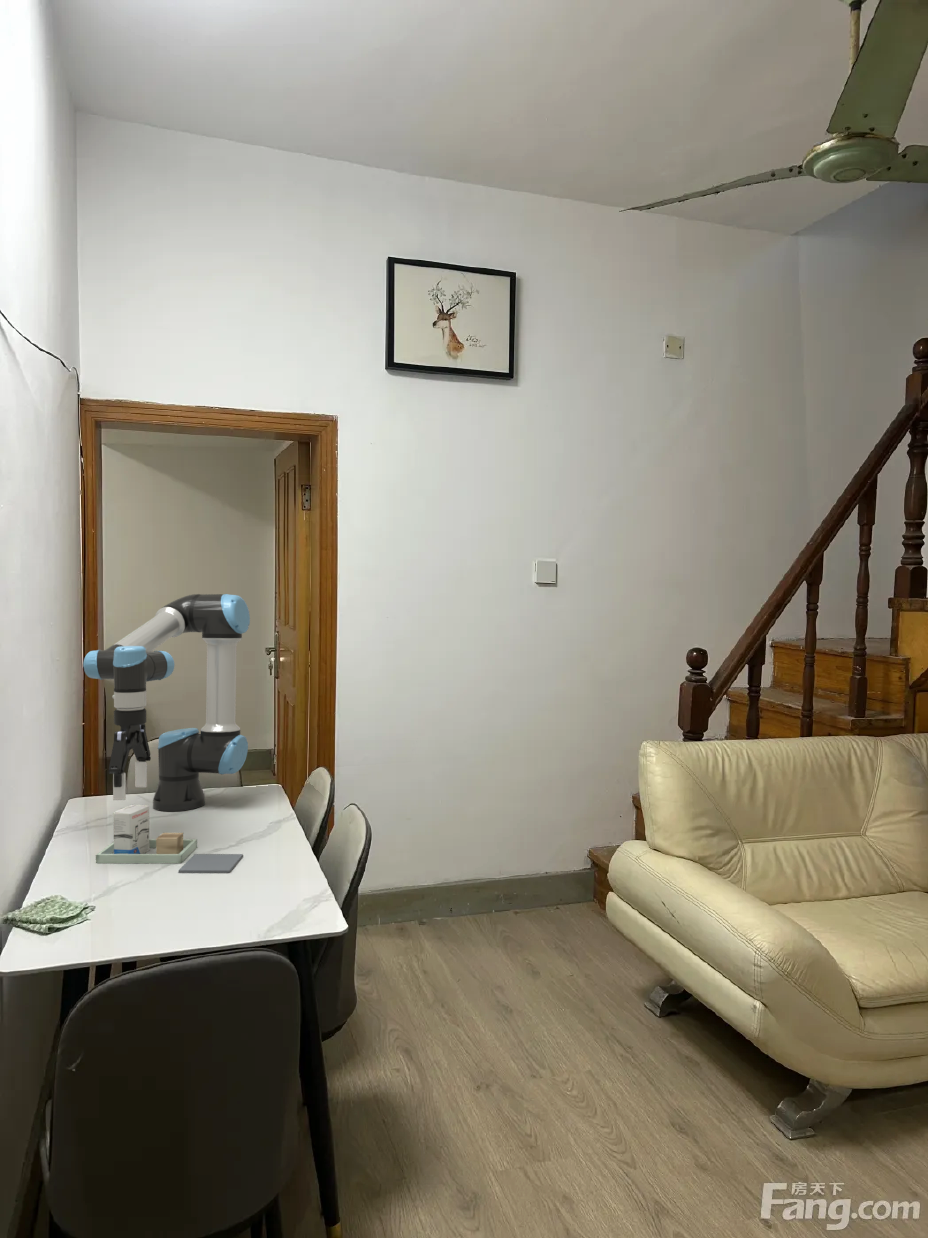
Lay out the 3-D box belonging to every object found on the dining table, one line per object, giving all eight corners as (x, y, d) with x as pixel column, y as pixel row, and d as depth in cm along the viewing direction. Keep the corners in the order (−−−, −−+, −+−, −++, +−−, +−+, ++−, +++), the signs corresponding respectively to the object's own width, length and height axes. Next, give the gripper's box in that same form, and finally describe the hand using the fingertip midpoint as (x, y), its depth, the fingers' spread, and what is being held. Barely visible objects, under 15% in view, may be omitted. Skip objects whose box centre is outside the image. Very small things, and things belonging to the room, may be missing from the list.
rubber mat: (194, 856, 208) (194, 854, 208) (242, 856, 208) (242, 854, 208) (178, 873, 196) (178, 870, 196) (229, 873, 196) (229, 870, 196)
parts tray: (117, 846, 215) (117, 839, 215) (197, 847, 215) (197, 839, 215) (95, 863, 203) (95, 855, 203) (180, 863, 203) (180, 855, 203)
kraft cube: (163, 852, 212) (163, 832, 211) (183, 852, 212) (183, 832, 211) (156, 858, 207) (156, 838, 206) (176, 858, 207) (176, 838, 206)
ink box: (130, 861, 204) (130, 813, 204) (112, 859, 205) (112, 812, 205) (150, 850, 213) (150, 804, 212) (133, 849, 214) (132, 803, 213)
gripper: (134, 701, 220) (135, 781, 221) (92, 715, 195) (93, 805, 196) (163, 702, 220) (163, 782, 221) (125, 715, 195) (125, 805, 196)
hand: (130, 793), depth 208 cm, fingers open, 13 cm apart
